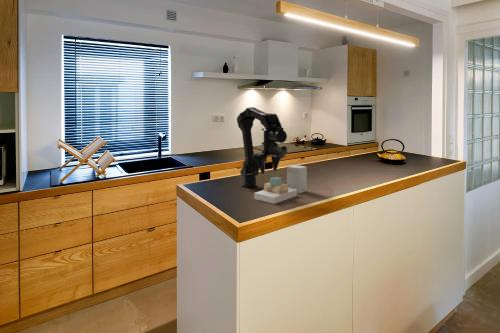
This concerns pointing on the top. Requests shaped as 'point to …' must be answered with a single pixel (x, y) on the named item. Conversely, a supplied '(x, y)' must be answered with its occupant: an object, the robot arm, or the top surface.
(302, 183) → the small box
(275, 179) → the crate
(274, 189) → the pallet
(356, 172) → the top surface
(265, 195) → the block
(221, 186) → the top surface
